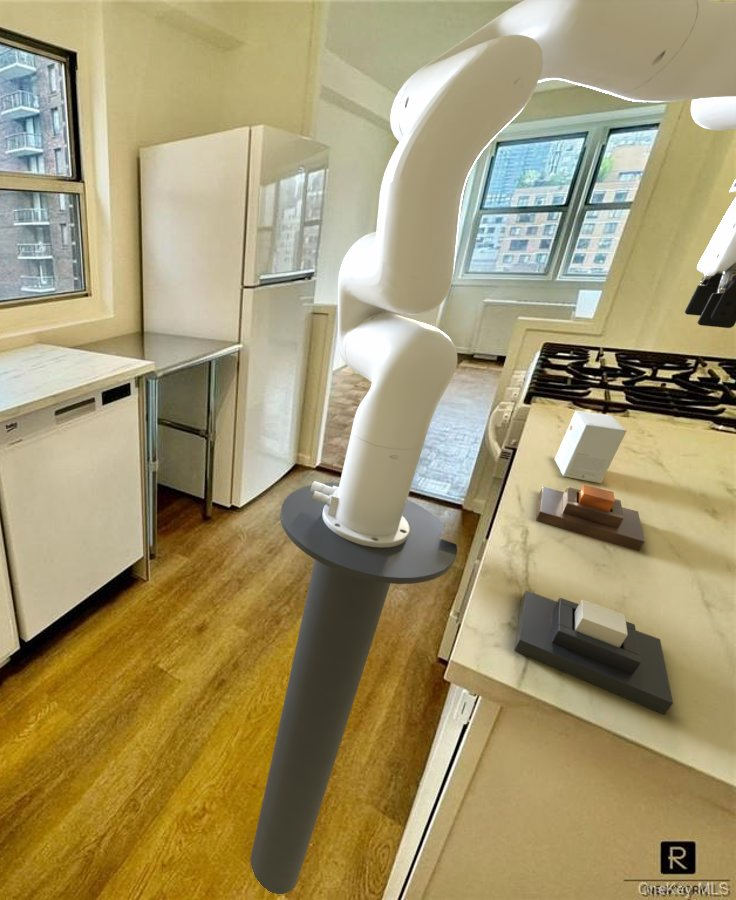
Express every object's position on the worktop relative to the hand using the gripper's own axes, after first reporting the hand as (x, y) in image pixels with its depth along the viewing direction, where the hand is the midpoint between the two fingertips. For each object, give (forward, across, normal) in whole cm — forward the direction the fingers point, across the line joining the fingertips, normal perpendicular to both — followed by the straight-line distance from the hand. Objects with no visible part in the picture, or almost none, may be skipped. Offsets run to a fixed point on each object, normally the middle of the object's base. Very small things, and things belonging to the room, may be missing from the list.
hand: (706, 320), depth 66 cm
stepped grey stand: (+31, +41, -4) cm, 51 cm away
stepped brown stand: (+31, +8, -3) cm, 32 cm away
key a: (+27, +41, -4) cm, 49 cm away
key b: (+27, +8, -3) cm, 29 cm away
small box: (+31, -12, -4) cm, 33 cm away
